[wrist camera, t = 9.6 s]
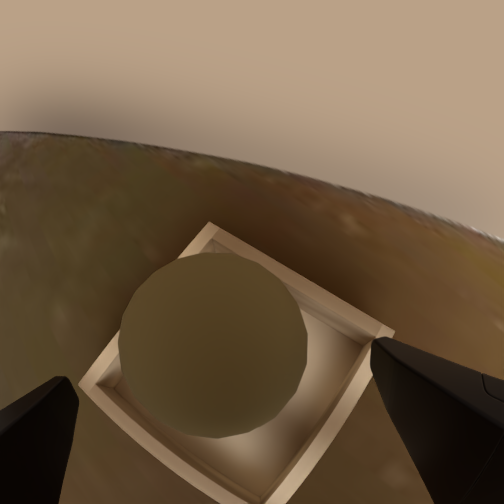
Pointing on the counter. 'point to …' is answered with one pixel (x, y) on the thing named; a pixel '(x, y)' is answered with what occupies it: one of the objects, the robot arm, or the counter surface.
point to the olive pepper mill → (213, 345)
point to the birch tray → (289, 418)
